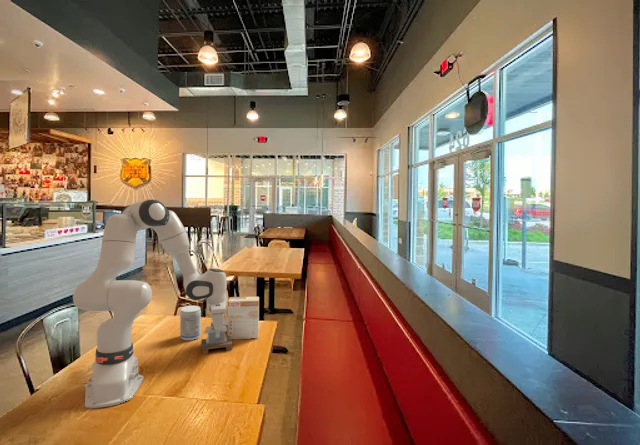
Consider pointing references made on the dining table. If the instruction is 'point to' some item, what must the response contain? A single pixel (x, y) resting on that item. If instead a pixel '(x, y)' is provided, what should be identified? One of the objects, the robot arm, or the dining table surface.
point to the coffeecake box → (243, 317)
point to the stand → (216, 345)
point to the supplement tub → (190, 322)
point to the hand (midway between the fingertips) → (216, 332)
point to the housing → (213, 339)
